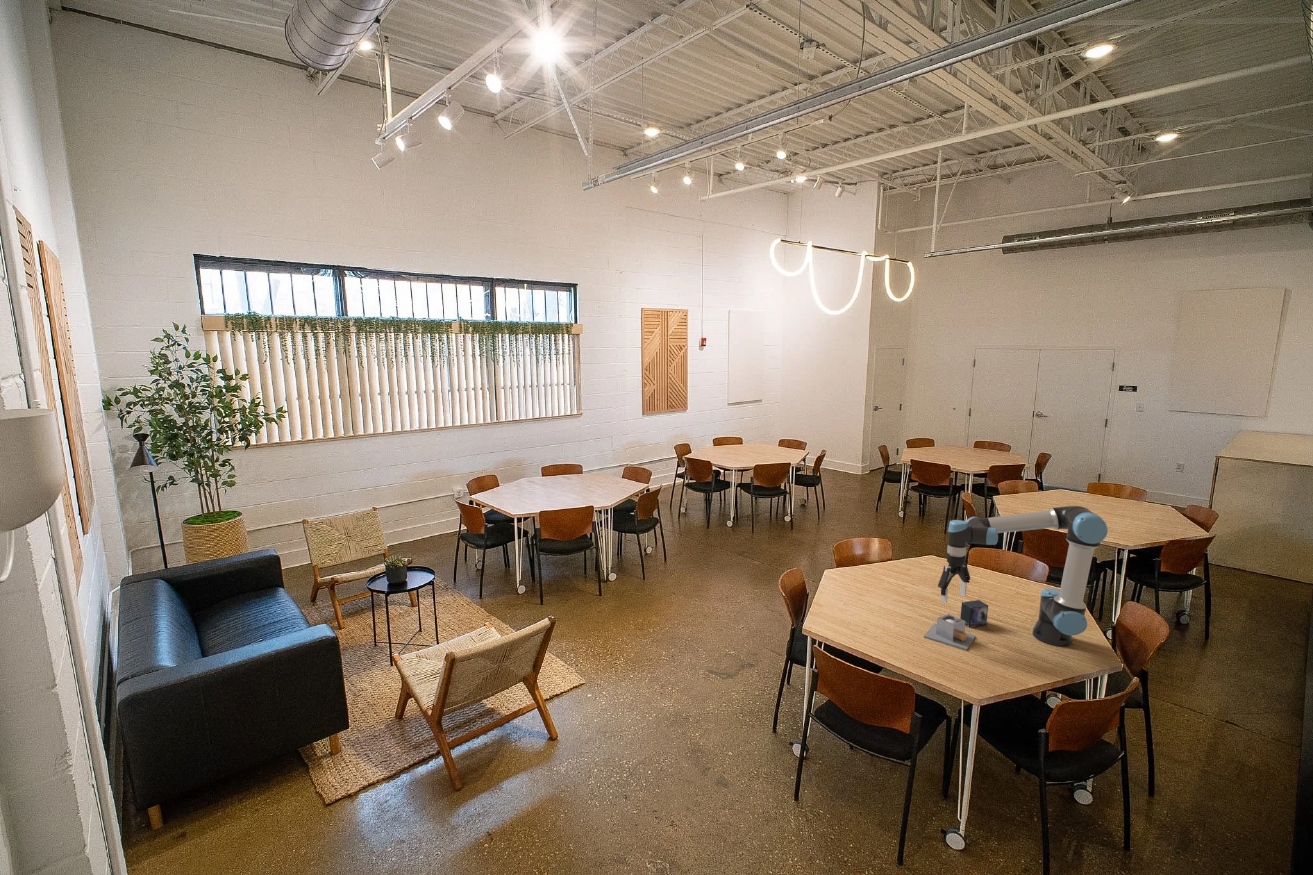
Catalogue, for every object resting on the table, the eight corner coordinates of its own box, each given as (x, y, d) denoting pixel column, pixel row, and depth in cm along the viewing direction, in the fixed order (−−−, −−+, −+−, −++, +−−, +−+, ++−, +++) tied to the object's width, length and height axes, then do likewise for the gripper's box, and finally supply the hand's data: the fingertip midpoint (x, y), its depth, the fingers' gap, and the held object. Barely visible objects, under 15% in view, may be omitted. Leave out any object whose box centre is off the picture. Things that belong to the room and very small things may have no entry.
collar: (947, 629, 272) (948, 613, 270) (970, 640, 262) (971, 623, 261) (935, 633, 268) (937, 617, 266) (958, 644, 258) (960, 628, 257)
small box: (969, 628, 275) (971, 607, 273) (959, 622, 281) (960, 601, 279) (987, 625, 278) (989, 604, 276) (976, 619, 284) (978, 599, 282)
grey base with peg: (975, 637, 266) (976, 621, 265) (966, 650, 254) (967, 634, 253) (934, 624, 278) (935, 609, 277) (923, 637, 266) (924, 621, 265)
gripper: (965, 546, 269) (962, 589, 272) (931, 556, 257) (928, 601, 261) (980, 551, 263) (977, 595, 266) (946, 562, 251) (943, 607, 254)
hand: (953, 598), depth 263 cm, fingers open, 13 cm apart
